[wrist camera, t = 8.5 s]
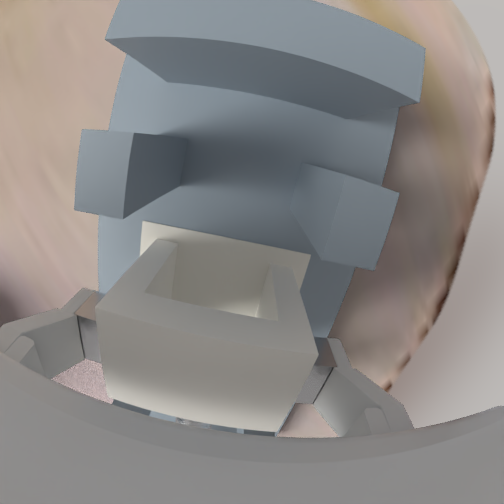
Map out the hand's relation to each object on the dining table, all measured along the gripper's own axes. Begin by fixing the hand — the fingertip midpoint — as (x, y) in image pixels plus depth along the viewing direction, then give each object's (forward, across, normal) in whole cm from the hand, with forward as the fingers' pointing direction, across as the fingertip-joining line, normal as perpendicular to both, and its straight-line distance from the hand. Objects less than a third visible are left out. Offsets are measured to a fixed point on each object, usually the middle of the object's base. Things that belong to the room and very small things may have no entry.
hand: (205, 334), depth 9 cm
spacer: (+3, 0, 0) cm, 3 cm away
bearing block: (+4, 0, 0) cm, 4 cm away
